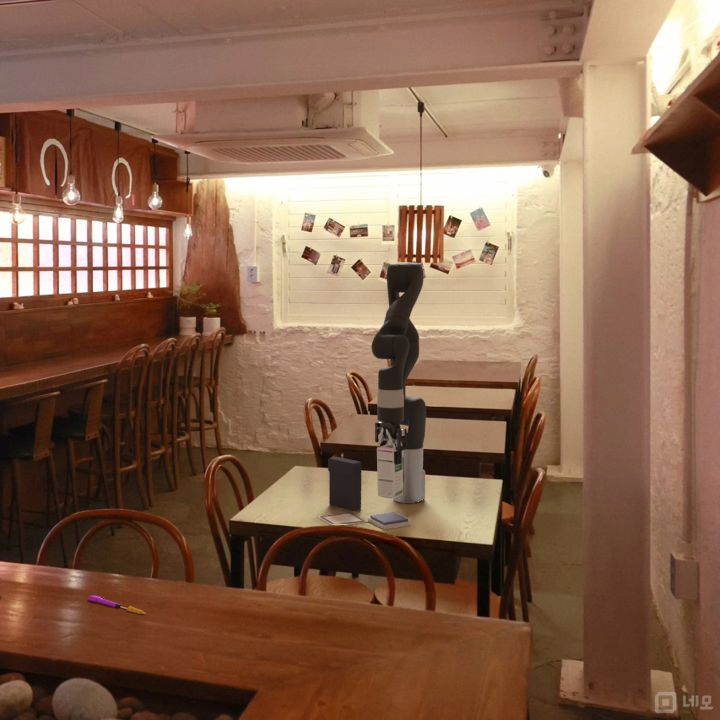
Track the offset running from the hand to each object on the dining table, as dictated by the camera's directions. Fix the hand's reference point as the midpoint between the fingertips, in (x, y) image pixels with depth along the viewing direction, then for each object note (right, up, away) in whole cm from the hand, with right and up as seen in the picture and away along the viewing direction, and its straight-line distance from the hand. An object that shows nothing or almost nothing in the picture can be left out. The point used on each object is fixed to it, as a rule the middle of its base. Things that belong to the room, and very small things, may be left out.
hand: (390, 461), depth 225 cm
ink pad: (0, -18, +1) cm, 18 cm away
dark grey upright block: (-13, -17, +17) cm, 27 cm away
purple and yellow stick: (-60, -24, -59) cm, 87 cm away
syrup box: (0, -10, +1) cm, 10 cm away
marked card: (-14, -18, +4) cm, 23 cm away
